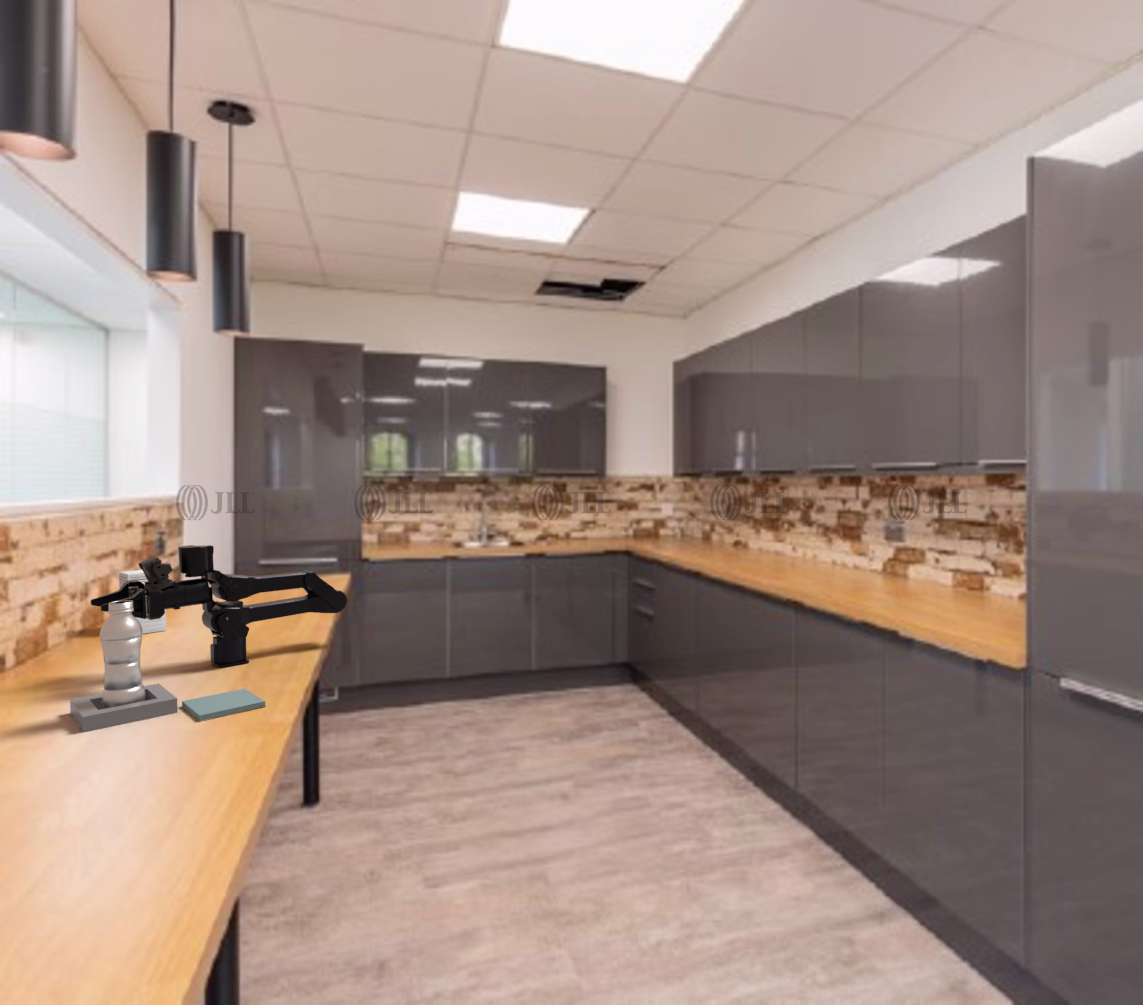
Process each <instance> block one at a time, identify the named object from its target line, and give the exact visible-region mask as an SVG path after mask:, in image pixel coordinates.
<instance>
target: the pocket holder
mask: <svg viewBox="0 0 1143 1005" xmlns="http://www.w3.org/2000/svg"><path fill="white" fill-rule="evenodd" d="M143 686H144V690H145V701H142V702H137V703H132V704H126V705H121V706H116V707H111V708H106V709H103V706H102V694H103V693H99V694H95V695H94V694H93V695H89V696H82V697H76V698H72V699H69V700H70V702H69V703H70V706H69V707H70V714H71V716H72V717H73V719H74V721H75V722H76V723H77V725H78V726H79V728H80V729H81V731H82V732H83V733H84V732H90V731H95V730H100V729H103V728H108V727H109V728H110V727H114V726H117V725H118V726H119V725H123V724H127V723H131V722H132V723H133V722H137V721H142V720H146V719H147V720H148V719H152V718H157V717H160V716H165V715H170V714H175V712H176V713H178V698H177V697H176V696H175V695H174V694H172V693H171V692H170V691H169V690H167V688H165V687H164V686H163V685H162V684H160V683H159V682H158V683H154V684H148V685H143Z"/></svg>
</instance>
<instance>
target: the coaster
mask: <svg viewBox="0 0 1143 1005" xmlns="http://www.w3.org/2000/svg"><path fill="white" fill-rule="evenodd" d="M182 706H183V707H184V708H183V707H182ZM264 706H265V707H266V700H264V699H262V698H260V697H259V696H257V695H256V694H254V693H253V692H251V691H249V690H247V689H246V688H239V689H235V690H230V691H226V692H219V693H216V694H215V693H214V694H211V695H206V696H202V697H201V696H200V697H196V698H192V699H186V700H182V701H181V707H182V708H183V709H185V710H186V711H187V710H188V711H189V712H190V714H191V715H192V716H193V717H194V718H195V717H196V718H195V719H196V720H198V721H199V722H202V721H201V720H203V721H207V720H206V719H208V720H211V718H212V719H216V718H215V717H217V718H220V716H221V717H225V715H226V716H229V715H233V714H234V713H235V714H239V713H243V712H242V711H244V712H247V711H246V710H248V711H252V710H251V709H253V710H256V709H255V708H257V709H260V708H259V707H262V708H265V707H264ZM188 711H187V712H188ZM189 712H188V713H189ZM238 712H239V713H238ZM235 714H234V715H235Z"/></svg>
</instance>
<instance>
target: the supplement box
mask: <svg viewBox="0 0 1143 1005" xmlns="http://www.w3.org/2000/svg"><path fill="white" fill-rule="evenodd" d="M130 580H137V581H140V582H141V583H143V584H144V585H145V582H148V580H147V578H146V576H145V574H144V572H143V570H142V569H138V570H137V569H136V570H124V571H119V572H118V582H119V584H118V586H119V589H120V588H121V587H122V585H123V583H125V582H126V581H130ZM119 589H118V590H119ZM148 615H149V614H148ZM135 618H136V619H137V620H138V621H139V623H140V624H141V626H142V629H143V631H142V635H145V634H150V633H151V634H152V633H157V632H165V631H167V609H165V614H164V615H163V616H162V617H161V618H160V619H153V620H149V619H147V618H146V619H142V618H137V617H135Z"/></svg>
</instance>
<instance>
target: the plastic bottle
mask: <svg viewBox="0 0 1143 1005" xmlns="http://www.w3.org/2000/svg"><path fill="white" fill-rule="evenodd" d="M133 611H134V608H133V601H131V600H125V601H115V602H110V603H109V611H108V612H107V614H109V617H108V618H107V619H106V621H105V622H104V624H103V626H102V627H101V628H100V632H99V640H100V646H101V650H102V654H103V662H104V685H103V688H104V689H103V691H102V693H101V694H102V706H103V709H106V708H111V707H116V706H121V705H126V704H132V703H137V702H142V701H145V690H144V686H145V685H144V684H143V679H142V670H141V648H142V641H143V634H142V631H143V629H142V626H141V624H140V623H139V621H138V620H137V619H136V618H135V617H134V616H133V615H132V612H133Z"/></svg>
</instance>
